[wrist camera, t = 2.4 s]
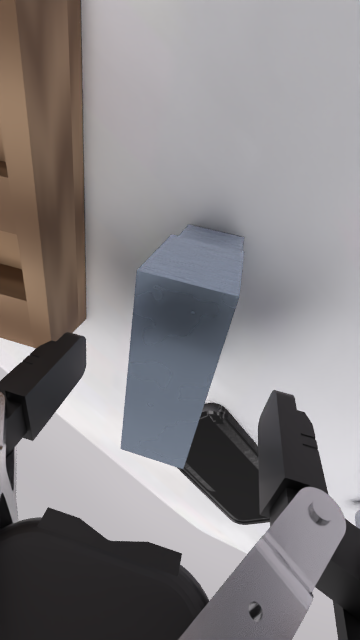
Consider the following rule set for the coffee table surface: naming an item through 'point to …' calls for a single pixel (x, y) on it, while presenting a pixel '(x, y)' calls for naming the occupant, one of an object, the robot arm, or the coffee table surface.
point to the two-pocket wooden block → (41, 171)
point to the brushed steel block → (178, 339)
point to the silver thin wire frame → (357, 519)
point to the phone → (225, 465)
